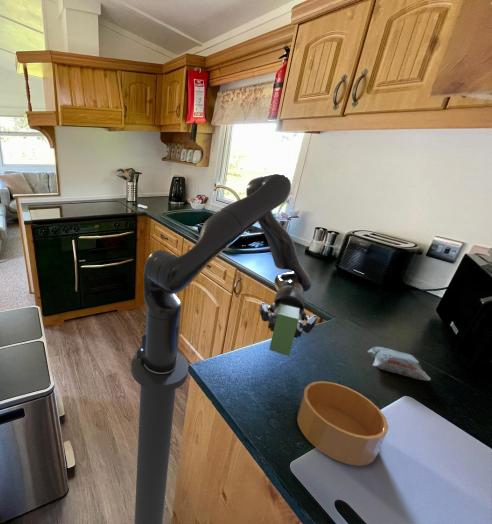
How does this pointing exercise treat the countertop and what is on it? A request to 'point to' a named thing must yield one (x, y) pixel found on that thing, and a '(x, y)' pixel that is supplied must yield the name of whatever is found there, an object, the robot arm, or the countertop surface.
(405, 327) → the countertop surface
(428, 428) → the countertop surface
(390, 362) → the packaged food
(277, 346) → the green block
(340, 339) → the countertop surface
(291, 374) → the countertop surface
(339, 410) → the orange round bowl
